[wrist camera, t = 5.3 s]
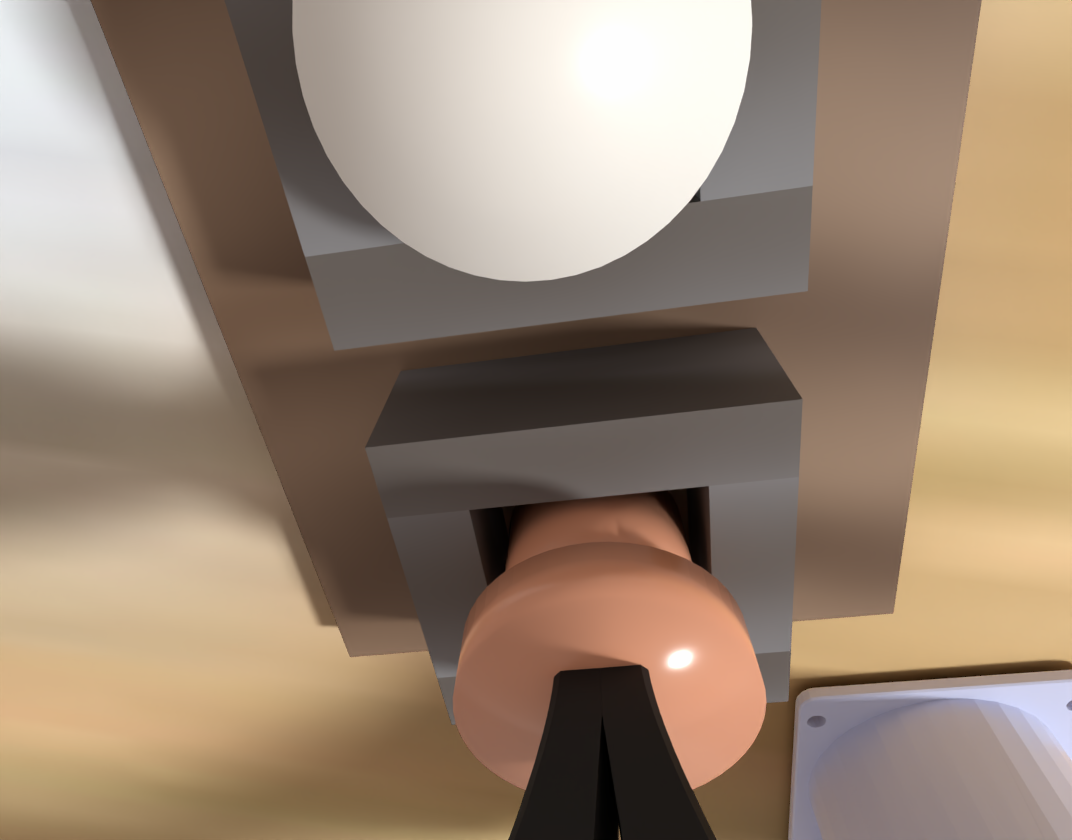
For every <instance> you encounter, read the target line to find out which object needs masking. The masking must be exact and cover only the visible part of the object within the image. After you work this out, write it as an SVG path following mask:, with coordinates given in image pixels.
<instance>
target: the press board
mask: <svg viewBox="0 0 1072 840" xmlns="http://www.w3.org/2000/svg"><path fill="white" fill-rule="evenodd" d="M91 2H92V5H93V7H94V10H95V12H96V15H97V18H98V20H99V23H100V25H101V28H102V30H103V33H104V35H105V38H106V40H107V43H108V45H109V48H110V50H111V53H112V56H113V58H114V61H115V63H116V66H117V68H118V71H119V73H120V76H121V78H122V81H123V83H124V86H125V88H126V91H127V94H128V96H129V99H130V101H131V104H132V106H133V109H134V111H135V114H136V116H137V119H138V121H139V124H140V126H141V129H142V131H143V134H144V137H145V139H146V142H147V144H148V147H149V149H150V152H151V154H152V157H153V159H154V162H155V164H156V167H157V169H158V172H159V175H160V177H161V180H162V182H163V185H164V187H165V190H166V192H167V195H168V197H169V200H170V202H171V205H172V207H173V210H174V213H175V215H176V218H177V220H178V223H179V225H180V228H181V230H182V233H183V235H184V238H185V240H186V243H187V245H188V248H189V251H190V253H191V256H192V258H193V261H194V263H195V266H196V268H197V271H198V273H199V276H200V278H201V281H202V283H203V286H204V288H205V291H206V294H207V296H208V299H209V301H210V304H211V306H212V309H213V311H214V314H215V316H216V319H217V321H218V324H219V326H220V329H221V332H222V334H223V337H224V339H225V342H226V344H227V347H228V349H229V352H230V354H231V357H232V359H233V362H234V364H235V367H236V370H237V372H238V375H239V377H240V380H241V382H242V385H243V387H244V390H245V392H246V395H247V397H248V400H249V402H250V405H251V408H252V410H253V413H254V415H255V418H256V420H257V423H258V425H259V428H260V430H261V433H262V435H263V438H264V440H265V443H266V446H267V448H268V451H269V453H270V456H271V458H272V461H273V463H274V466H275V468H276V471H277V473H278V476H279V478H280V481H281V483H282V486H283V489H284V491H285V494H286V496H287V499H288V501H289V504H290V506H291V509H292V511H293V514H294V516H295V519H296V521H297V524H298V527H299V529H300V532H301V534H302V537H303V539H304V542H305V544H306V547H307V549H308V552H309V554H310V557H311V559H312V562H313V565H314V567H315V570H316V572H317V575H318V577H319V580H320V582H321V585H322V587H323V590H324V592H325V595H326V597H327V600H328V603H329V605H330V608H331V610H332V613H333V615H334V618H335V620H336V623H337V625H338V628H339V630H340V633H341V635H342V638H343V640H344V643H345V646H346V648H347V651H348V653H349V656H350V657H357V656H369V655H382V654H394V653H406V652H419V651H429V654H430V657H431V660H432V663H433V666H434V669H435V673H436V676H437V679H438V682H439V685H440V689H441V692H442V695H443V698H444V701H445V704H446V708H447V711H448V714H449V717H450V720H451V724H452V725H454V724H456V723H455V718H454V713H453V693H454V687H455V681H456V675H457V668H458V662H459V656H460V650H461V643H462V637H463V632H464V626H465V623H466V620H467V617H468V615H469V612H470V610H471V608H472V607H473V605H474V603H475V602H476V600H477V598H478V597H479V596H480V595H481V594H482V592H483V591H484V590H485V589H486V587H487V586H488V585H490V584H491V583H492V582H493V581H494V580H495V579H496V578H497V577H498V576H500V575H501V574H503V573H504V572H505V567H506V557H507V547H508V538H509V528H510V521H511V516H512V513H513V510H514V507H515V505H524V504H534V503H544V502H554V501H564V500H574V499H584V498H594V497H604V496H614V495H624V494H634V493H644V492H654V491H664V490H668V491H669V492H670V494H671V495H672V496H673V498H674V500H675V502H676V504H677V506H678V508H679V511H680V514H681V518H682V522H683V526H684V530H685V535H686V539H687V543H688V547H689V551H690V555H691V559H692V562H693V563H695V564H697V565H698V566H700V567H702V568H703V569H705V570H706V571H707V572H709V573H710V574H711V575H713V576H714V577H715V578H717V579H718V580H719V581H720V582H721V583H722V584H723V585H724V586H725V587H726V588H727V589H728V591H729V592H730V594H731V595H732V596H733V598H734V599H735V600H736V602H737V604H738V606H739V608H740V610H741V612H742V614H743V617H744V620H745V623H746V627H747V630H748V633H749V636H750V639H751V643H752V646H753V649H754V652H755V656H756V659H757V662H758V665H759V669H760V672H761V675H762V679H763V682H764V686H765V690H766V703H772V702H786V701H788V699H789V678H790V657H791V636H792V621H805V620H817V619H830V618H842V617H855V616H867V615H880V614H892V613H893V612H894V605H895V598H896V591H897V584H898V577H899V570H900V563H901V556H902V549H903V542H904V535H905V528H906V521H907V514H908V507H909V500H910V493H911V487H912V480H913V473H914V466H915V459H916V452H917V445H918V438H919V431H920V424H921V417H922V410H923V403H924V396H925V389H926V382H927V375H928V368H929V362H930V355H931V348H932V341H933V334H934V327H935V320H936V313H937V306H938V299H939V292H940V285H941V278H942V271H943V264H944V257H945V250H946V243H947V237H948V230H949V223H950V216H951V209H952V202H953V195H954V188H955V181H956V174H957V167H958V160H959V153H960V146H961V139H962V132H963V125H964V118H965V111H966V105H967V98H968V91H969V84H970V77H971V70H972V63H973V56H974V49H975V42H976V35H977V28H978V21H979V14H980V7H981V0H751V10H752V35H751V51H750V61H749V67H748V72H747V78H746V83H745V89H744V93H743V96H742V100H741V103H740V106H739V110H738V113H737V116H736V120H735V123H734V125H733V127H732V130H731V132H730V134H729V137H728V139H727V141H726V144H725V146H724V148H723V151H722V153H721V154H720V156H719V158H718V160H717V161H716V163H715V165H714V166H713V168H712V170H711V172H710V173H709V175H708V177H707V178H706V180H705V181H704V183H703V184H702V185H701V187H700V188H699V189H698V191H697V192H696V193H695V195H694V196H693V197H692V199H691V200H690V201H689V203H688V204H687V205H686V206H685V207H684V208H683V209H682V210H681V211H680V212H679V213H678V214H677V215H676V216H675V217H674V218H673V219H672V220H671V222H670V223H668V224H667V225H666V226H665V227H664V228H662V229H661V230H660V231H659V232H658V233H656V234H655V235H654V236H653V237H652V238H650V239H649V240H648V241H646V242H645V243H643V244H642V245H640V246H639V247H637V248H636V249H634V250H632V251H631V252H629V253H628V254H626V255H624V256H622V257H620V258H618V259H616V260H614V261H612V262H610V263H608V264H606V265H604V266H602V267H599V268H596V269H593V270H590V271H587V272H584V273H581V274H578V275H574V276H569V277H563V278H558V279H553V280H543V281H528V282H522V281H506V280H496V279H491V278H486V277H480V276H475V275H472V274H469V273H466V272H462V271H459V270H456V269H453V268H450V267H448V266H446V265H443V264H441V263H439V262H437V261H435V260H433V259H430V258H428V257H426V256H424V255H423V254H421V253H420V252H418V251H416V250H415V249H413V248H411V247H410V246H408V245H407V244H405V243H403V242H402V241H401V240H400V239H398V238H397V237H396V236H394V235H393V234H392V233H391V232H389V231H388V230H387V229H386V228H384V227H383V226H382V225H381V224H380V223H379V222H378V221H377V220H376V219H375V218H374V217H373V216H372V215H371V214H370V213H369V212H368V211H367V210H366V209H365V208H364V207H363V206H362V205H361V204H360V203H359V201H358V200H357V199H356V198H355V196H354V195H353V194H352V192H351V191H350V190H349V189H348V187H347V186H346V185H345V184H344V182H343V181H342V179H341V178H340V176H339V174H338V173H337V171H336V170H335V168H334V166H333V165H332V163H331V162H330V160H329V158H328V157H327V155H326V153H325V151H324V148H323V146H322V144H321V142H320V140H319V138H318V136H317V134H316V132H315V129H314V127H313V124H312V121H311V119H310V116H309V113H308V110H307V107H306V104H305V101H304V98H303V94H302V90H301V85H300V81H299V76H298V72H297V67H296V60H295V51H294V42H293V33H292V15H293V0H91Z"/></svg>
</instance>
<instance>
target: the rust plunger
mask: <svg viewBox="0 0 1072 840" xmlns="http://www.w3.org/2000/svg"><path fill="white" fill-rule="evenodd" d="M630 665H642V666H644V667H645V668H647V669H648V670H649V675H650V679H651V684H652V687H653V691H654V694H655V698H656V701H657V704H658V707H659V710H660V713H661V716H662V719H663V722H664V725H665V727H666V730H667V732H668V735H669V737H670V740H671V742H672V745H673V748H674V750H675V752H676V755H677V757H678V759H679V762H680V764H681V766H682V769H683V771H684V773H685V775H686V777H687V779H688V782H689V784H690V786H691V788H692V790H693V789H695V788H697V787H699V786H701V785H704V784H706V783H708V782H709V781H711V780H713V779H714V778H716V777H718V776H719V775H721V774H722V773H724V772H725V771H726V770H727V769H729V768H730V767H731V766H733V765H734V764H735V763H736V762H737V761H738V760H739V759H740V758H741V757H742V756H743V755H744V754H745V753H746V752H747V750H748V749H749V748H750V746H751V745H752V744H753V742H754V741H755V739H756V737H757V735H758V733H759V731H760V729H761V726H762V723H763V720H764V717H765V710H766V690H765V686H764V682H763V679H762V675H761V672H760V669H759V665H758V662H757V659H756V656H755V652H754V649H753V646H752V643H751V639H750V636H749V633H748V630H747V627H746V623H745V620H744V617H743V614H742V612H741V610H740V608H739V606H738V604H737V602H736V600H735V599H734V598H733V596H732V595H731V594H730V592H729V591H728V589H727V588H726V587H725V586H724V585H723V584H722V583H721V582H720V581H719V580H718V579H717V578H715V577H714V576H713V575H711V574H710V573H709V572H707V571H706V570H705V569H703V568H702V567H700V566H698V565H697V564H695V563H693V562H692V559H691V555H690V551H689V547H688V543H687V539H686V535H685V530H684V526H683V522H682V518H681V514H680V511H679V508H678V506H677V504H676V502H675V500H674V498H673V496H672V495H671V494H670V492H669V491H668V490H664V491H654V492H644V493H634V494H624V495H614V496H604V497H594V498H584V499H574V500H564V501H554V502H544V503H534V504H524V505H515V507H514V510H513V513H512V516H511V521H510V528H509V538H508V547H507V557H506V567H505V572H504V573H503V574H501V575H500V576H498V577H497V578H496V579H495V580H494V581H493V582H492V583H491V584H490V585H488V586H487V587H486V589H485V590H484V591H483V592H482V594H481V595H480V596H479V597H478V598H477V600H476V602H475V603H474V605H473V607H472V608H471V610H470V612H469V615H468V617H467V620H466V623H465V626H464V632H463V637H462V643H461V650H460V656H459V662H458V668H457V675H456V681H455V687H454V693H453V713H454V718H455V723H456V726H457V728H458V731H459V733H460V736H461V738H462V739H463V741H464V742H465V744H466V746H467V747H468V749H469V750H470V751H471V752H472V753H473V755H474V756H475V757H476V758H477V759H478V760H479V761H480V762H481V763H482V764H483V765H484V766H486V767H487V768H488V769H489V770H490V771H492V772H493V773H495V774H496V775H497V776H499V777H500V778H502V779H504V780H505V781H507V782H509V783H511V784H513V785H515V786H516V787H519V788H521V789H523V790H526V788H527V784H528V781H529V778H530V775H531V772H532V769H533V766H534V763H535V759H536V756H537V752H538V749H539V745H540V741H541V738H542V734H543V730H544V726H545V722H546V718H547V713H548V709H549V704H550V699H551V694H552V687H553V680H554V676H555V675H556V674H557V673H559V672H560V671H565V670H578V669H591V668H604V667H617V666H630Z"/></svg>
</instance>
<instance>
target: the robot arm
mask: <svg viewBox="0 0 1072 840" xmlns="http://www.w3.org/2000/svg"><path fill="white" fill-rule="evenodd" d="M618 823H619V824H618ZM619 829H620V835H621V840H717V839H716V837H715V836H714V834H713V832H712V830H711V828H710V826H709V824H708V822H707V820H706V818H705V816H704V814H703V812H702V809H701V807H700V805H699V803H698V801H697V799H696V797H695V794H694V792H693V790H692V788H691V786H690V784H689V782H688V779H687V777H686V775H685V773H684V771H683V769H682V766H681V764H680V762H679V759H678V757H677V755H676V752H675V750H674V748H673V745H672V742H671V740H670V737H669V735H668V732H667V730H666V727H665V725H664V722H663V719H662V716H661V713H660V710H659V707H658V704H657V701H656V698H655V694H654V691H653V687H652V684H651V679H650V675H649V670H648V669H647V668H645V667H644V666H642V665H630V666H617V667H604V668H591V669H578V670H565V671H560V672H559V673H557V674H556V675H555V676H554V680H553V687H552V694H551V699H550V704H549V709H548V713H547V718H546V722H545V726H544V730H543V734H542V738H541V741H540V745H539V749H538V752H537V756H536V759H535V763H534V766H533V769H532V772H531V775H530V778H529V781H528V784H527V788H526V791H525V794H524V797H523V800H522V803H521V806H520V809H519V812H518V815H517V818H516V821H515V823H514V826H513V829H512V831H511V834H510V837H509V839H508V840H619ZM788 840H1072V669H1071V670H1057V671H1042V672H1028V673H1014V674H1000V675H986V676H972V677H958V678H944V679H930V680H916V681H901V682H887V683H873V684H859V685H845V686H831V687H817V688H810V689H806V690H804V691H802V692H801V693H800V694H799V695H798V696H797V699H796V705H795V723H794V742H793V760H792V778H791V796H790V815H789V833H788Z"/></svg>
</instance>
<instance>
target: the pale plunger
mask: <svg viewBox="0 0 1072 840" xmlns="http://www.w3.org/2000/svg"><path fill="white" fill-rule="evenodd" d="M292 33H293V42H294V51H295V60H296V67H297V72H298V76H299V81H300V85H301V90H302V94H303V98H304V101H305V104H306V107H307V110H308V113H309V116H310V119H311V121H312V124H313V127H314V129H315V132H316V134H317V136H318V138H319V140H320V142H321V144H322V146H323V148H324V151H325V153H326V155H327V157H328V158H329V160H330V162H331V163H332V165H333V166H334V168H335V170H336V171H337V173H338V174H339V176H340V178H341V179H342V181H343V182H344V184H345V185H346V186H347V187H348V189H349V190H350V191H351V192H352V194H353V195H354V196H355V198H356V199H357V200H358V201H359V203H360V204H361V205H362V206H363V207H364V208H365V209H366V210H367V211H368V212H369V213H370V214H371V215H372V216H373V217H374V218H375V219H376V220H377V221H378V222H379V223H380V224H381V225H382V226H383V227H384V228H386V229H387V230H388V231H389V232H391V233H392V234H393V235H394V236H396V237H397V238H398V239H400V240H401V241H402V242H403V243H405V244H407V245H408V246H410V247H411V248H413V249H415V250H416V251H418V252H420V253H421V254H423V255H424V256H426V257H428V258H430V259H433V260H435V261H437V262H439V263H441V264H443V265H446V266H448V267H450V268H453V269H456V270H459V271H462V272H466V273H469V274H472V275H475V276H480V277H486V278H491V279H496V280H506V281H522V282H528V281H543V280H553V279H558V278H563V277H569V276H574V275H578V274H581V273H584V272H587V271H590V270H593V269H596V268H599V267H602V266H604V265H606V264H608V263H610V262H612V261H614V260H616V259H618V258H620V257H622V256H624V255H626V254H628V253H629V252H631V251H632V250H634V249H636V248H637V247H639V246H640V245H642V244H643V243H645V242H646V241H648V240H649V239H650V238H652V237H653V236H654V235H655V234H656V233H658V232H659V231H660V230H661V229H662V228H664V227H665V226H666V225H667V224H668V223H670V222H671V220H672V219H673V218H674V217H675V216H676V215H677V214H678V213H679V212H680V211H681V210H682V209H683V208H684V207H685V206H686V205H687V204H688V203H689V201H690V200H691V199H692V197H693V196H694V195H695V193H696V192H697V191H698V189H699V188H700V187H701V185H702V184H703V183H704V181H705V180H706V178H707V177H708V175H709V173H710V172H711V170H712V168H713V166H714V165H715V163H716V161H717V160H718V158H719V156H720V154H721V153H722V151H723V148H724V146H725V144H726V141H727V139H728V137H729V134H730V132H731V130H732V127H733V125H734V123H735V120H736V116H737V113H738V110H739V106H740V103H741V100H742V96H743V93H744V89H745V83H746V78H747V72H748V67H749V61H750V51H751V35H752V10H751V0H293V15H292Z"/></svg>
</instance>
